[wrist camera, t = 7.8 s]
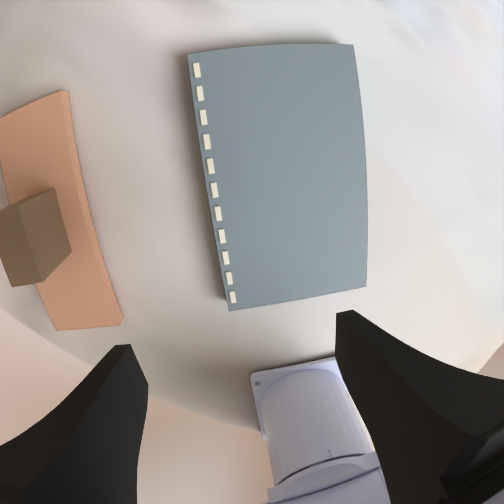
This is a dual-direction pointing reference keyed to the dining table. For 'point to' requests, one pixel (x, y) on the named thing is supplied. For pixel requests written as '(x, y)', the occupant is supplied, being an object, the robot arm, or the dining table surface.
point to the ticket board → (283, 169)
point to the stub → (52, 217)
